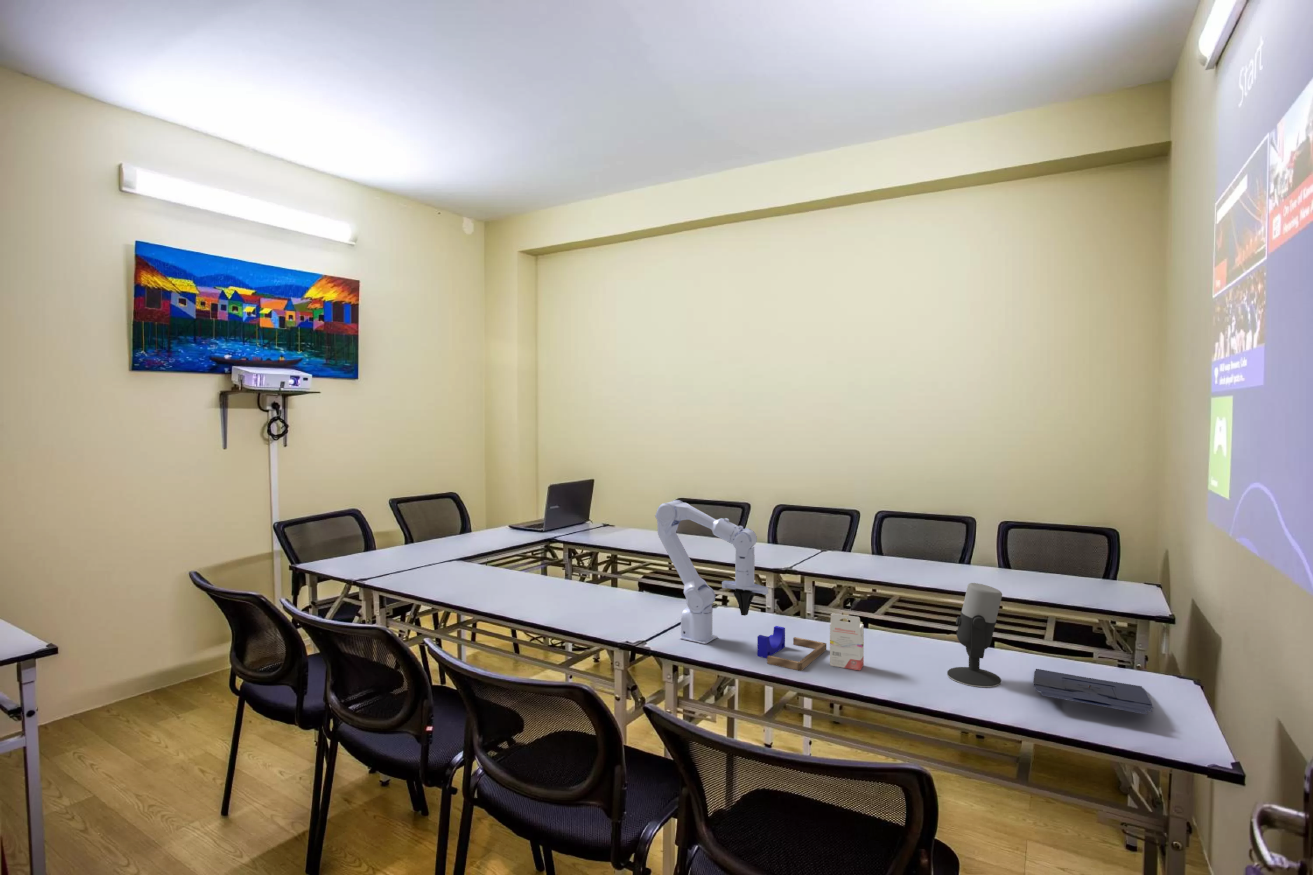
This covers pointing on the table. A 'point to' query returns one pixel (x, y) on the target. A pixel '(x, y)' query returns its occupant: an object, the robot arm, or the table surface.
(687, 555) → the robot arm
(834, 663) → the ink cartridge box
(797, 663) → the frame
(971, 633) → the microphone
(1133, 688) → the grooved grey slab
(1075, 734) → the table surface
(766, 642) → the blue curved bracket
